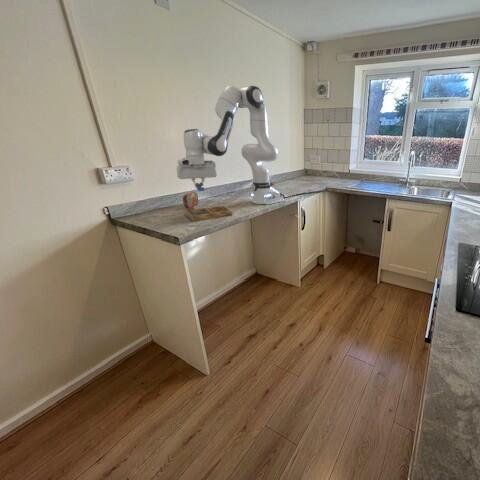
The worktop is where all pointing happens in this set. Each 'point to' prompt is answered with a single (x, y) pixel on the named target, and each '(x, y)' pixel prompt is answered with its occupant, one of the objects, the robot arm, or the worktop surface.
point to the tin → (190, 199)
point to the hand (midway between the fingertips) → (199, 186)
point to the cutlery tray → (208, 213)
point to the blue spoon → (200, 187)
